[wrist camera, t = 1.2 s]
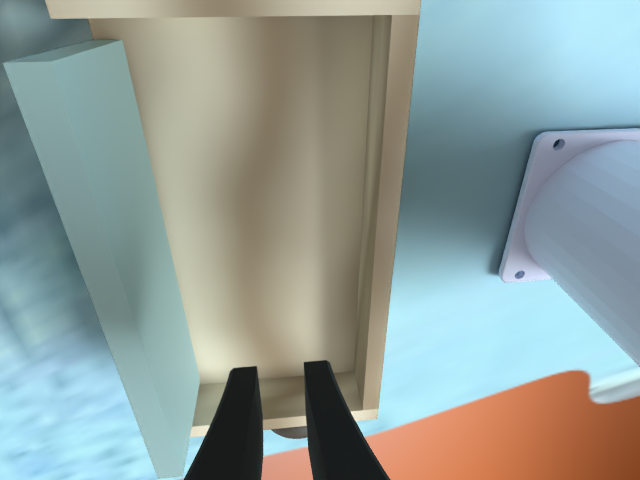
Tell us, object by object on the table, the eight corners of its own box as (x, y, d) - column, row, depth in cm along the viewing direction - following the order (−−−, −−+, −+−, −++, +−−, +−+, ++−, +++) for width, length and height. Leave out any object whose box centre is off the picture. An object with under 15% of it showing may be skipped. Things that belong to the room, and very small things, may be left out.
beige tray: (389, -50, 14) (427, -64, 11) (361, 371, 25) (376, 430, 22) (87, -51, 13) (24, -66, 10) (194, 385, 24) (181, 450, 21)
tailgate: (122, 39, 13) (51, 62, 9) (200, 380, 21) (182, 476, 17) (89, 40, 13) (2, 62, 9) (180, 381, 21) (158, 478, 17)
